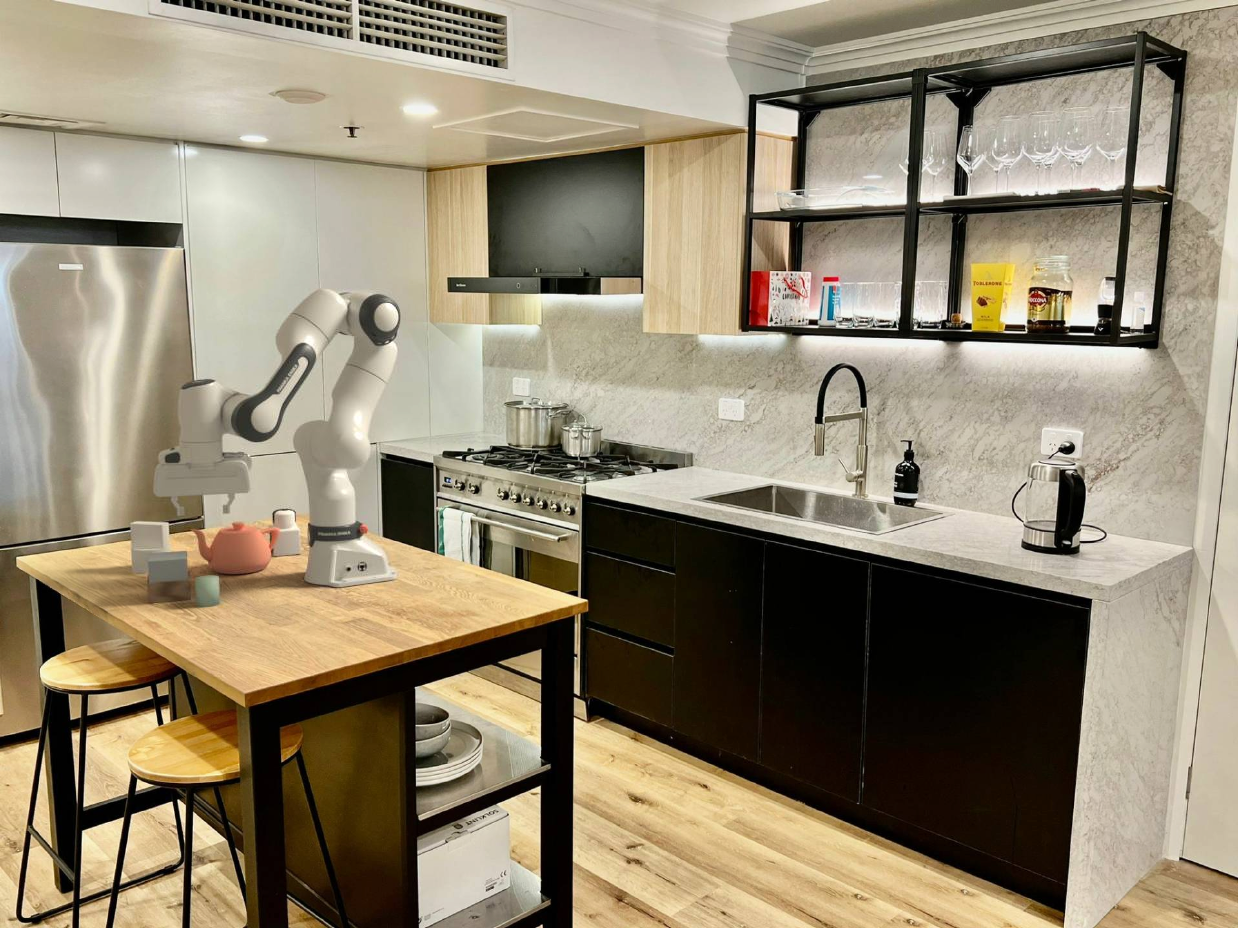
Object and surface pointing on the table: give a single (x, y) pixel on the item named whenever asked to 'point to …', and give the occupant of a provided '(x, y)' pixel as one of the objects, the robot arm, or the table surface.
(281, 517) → the white bottle
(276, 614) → the table surface
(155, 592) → the bottom block
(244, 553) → the teapot
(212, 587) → the pale green cylinder
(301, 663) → the table surface
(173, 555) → the top block
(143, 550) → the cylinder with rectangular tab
